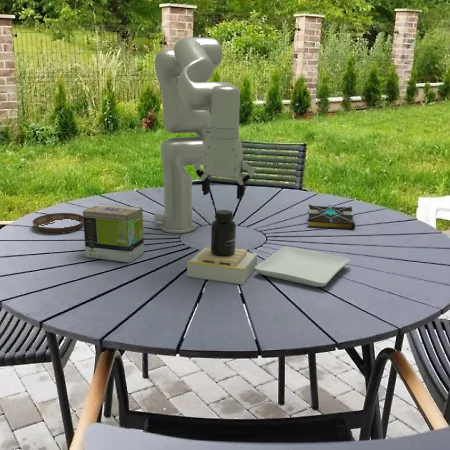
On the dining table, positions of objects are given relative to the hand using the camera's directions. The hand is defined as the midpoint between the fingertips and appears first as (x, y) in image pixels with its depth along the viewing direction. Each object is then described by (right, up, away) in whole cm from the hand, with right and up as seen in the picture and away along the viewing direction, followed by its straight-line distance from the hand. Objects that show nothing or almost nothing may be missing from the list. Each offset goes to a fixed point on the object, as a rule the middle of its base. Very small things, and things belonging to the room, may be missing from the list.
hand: (222, 195), depth 157 cm
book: (+39, -7, +56) cm, 69 cm away
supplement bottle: (0, -16, +4) cm, 17 cm away
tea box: (-33, -17, +18) cm, 41 cm away
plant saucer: (-57, -9, +44) cm, 73 cm away
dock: (0, -21, +6) cm, 22 cm away
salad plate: (+23, -22, +6) cm, 32 cm away
